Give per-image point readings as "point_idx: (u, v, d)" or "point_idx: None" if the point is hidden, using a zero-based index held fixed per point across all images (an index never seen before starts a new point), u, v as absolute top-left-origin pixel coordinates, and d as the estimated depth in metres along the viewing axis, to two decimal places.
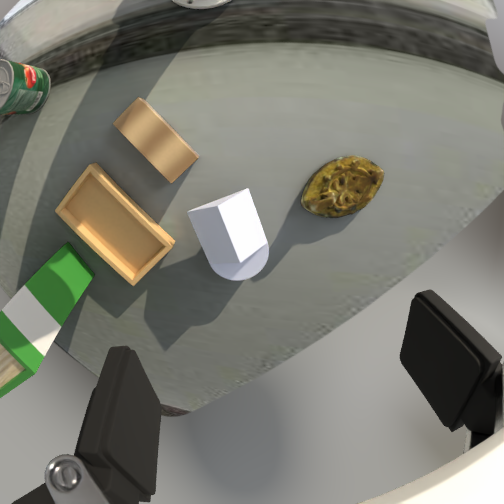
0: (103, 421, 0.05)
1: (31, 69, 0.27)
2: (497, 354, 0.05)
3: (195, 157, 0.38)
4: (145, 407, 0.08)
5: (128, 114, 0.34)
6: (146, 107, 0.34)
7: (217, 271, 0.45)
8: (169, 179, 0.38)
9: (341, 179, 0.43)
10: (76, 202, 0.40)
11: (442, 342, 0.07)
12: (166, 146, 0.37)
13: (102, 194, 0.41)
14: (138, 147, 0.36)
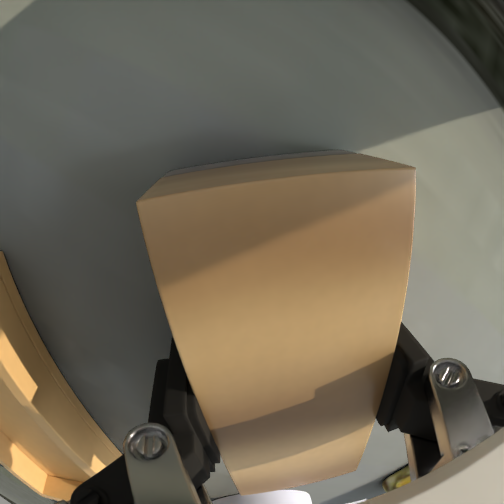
0: (185, 385, 0.07)
1: None
2: (423, 354, 0.06)
3: (352, 469, 0.09)
4: None
5: (288, 225, 0.05)
6: (401, 264, 0.06)
7: None
8: (244, 491, 0.09)
9: None
10: None
11: None
12: (316, 440, 0.08)
13: None
14: (211, 410, 0.07)
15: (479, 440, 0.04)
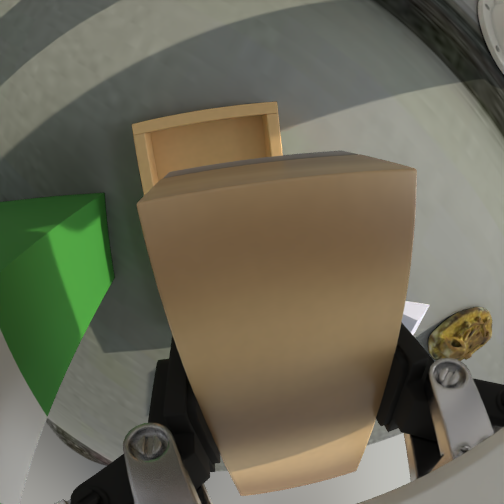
0: (185, 385, 0.07)
1: None
2: (423, 354, 0.06)
3: (353, 469, 0.09)
4: None
5: (289, 226, 0.05)
6: (402, 265, 0.06)
7: None
8: (244, 491, 0.09)
9: (472, 331, 0.31)
10: (179, 141, 0.20)
11: None
12: (316, 441, 0.08)
13: None
14: (212, 411, 0.07)
15: (479, 440, 0.04)
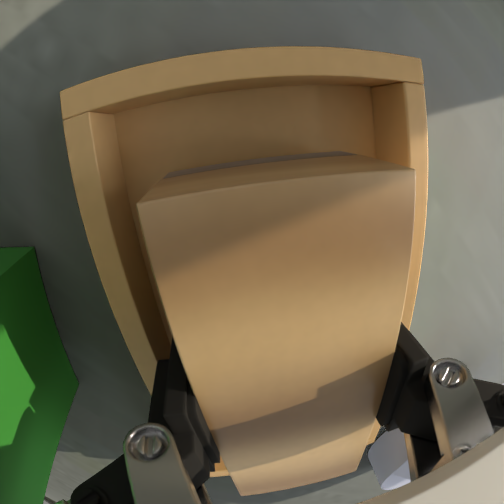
0: (185, 385, 0.07)
1: None
2: (423, 354, 0.06)
3: (352, 469, 0.09)
4: None
5: (289, 227, 0.05)
6: (401, 265, 0.06)
7: (385, 482, 0.15)
8: (244, 491, 0.09)
9: None
10: (183, 132, 0.08)
11: None
12: (316, 441, 0.08)
13: None
14: (212, 411, 0.07)
15: (479, 440, 0.04)
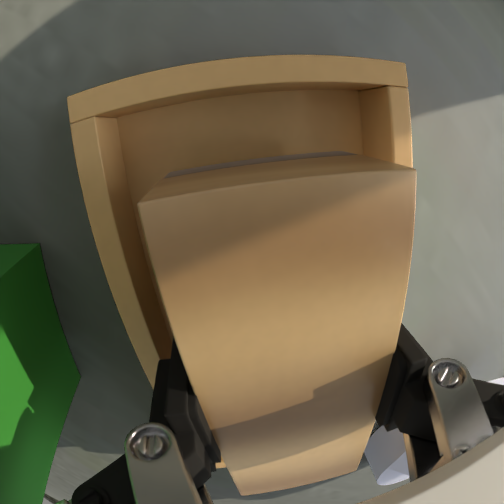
0: (186, 384, 0.07)
1: None
2: (422, 355, 0.06)
3: (353, 469, 0.10)
4: None
5: (289, 226, 0.05)
6: (402, 265, 0.06)
7: (381, 476, 0.16)
8: (244, 491, 0.09)
9: None
10: (182, 135, 0.09)
11: None
12: (317, 440, 0.08)
13: None
14: (212, 411, 0.07)
15: (478, 440, 0.04)
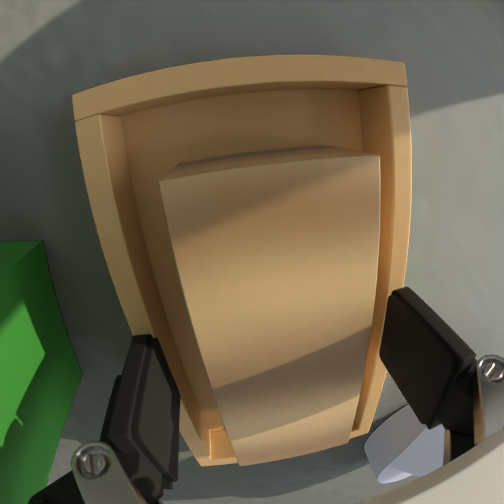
0: (132, 405, 0.06)
1: None
2: (471, 352, 0.06)
3: (344, 441, 0.11)
4: (167, 394, 0.08)
5: (275, 200, 0.06)
6: (371, 235, 0.07)
7: (381, 474, 0.16)
8: (242, 460, 0.10)
9: None
10: (184, 133, 0.09)
11: (416, 339, 0.08)
12: (308, 404, 0.09)
13: None
14: (213, 366, 0.08)
15: None
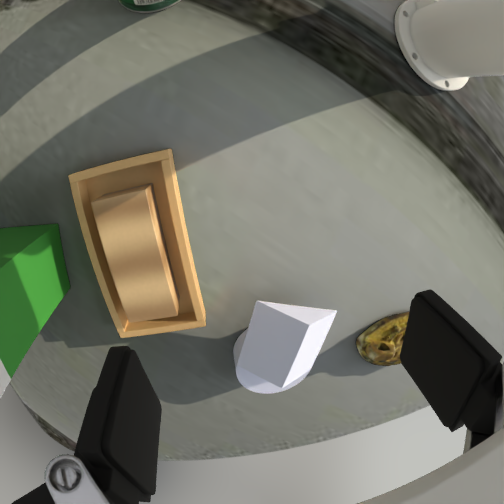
0: (103, 421, 0.05)
1: None
2: (497, 354, 0.05)
3: (174, 313, 0.27)
4: (145, 407, 0.08)
5: (118, 205, 0.23)
6: (147, 213, 0.23)
7: (239, 375, 0.32)
8: (129, 317, 0.27)
9: None
10: (105, 183, 0.25)
11: (442, 342, 0.07)
12: (145, 280, 0.26)
13: None
14: (109, 258, 0.24)
15: None
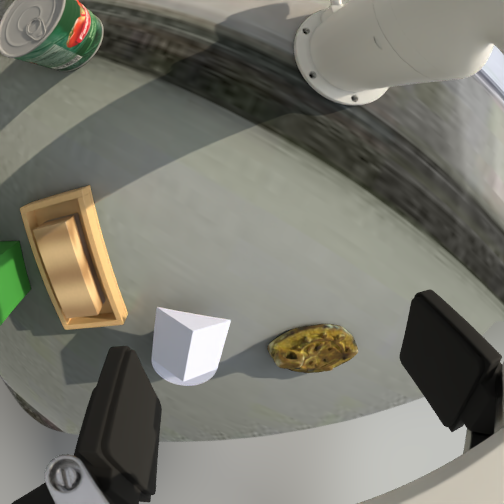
0: (103, 421, 0.05)
1: (87, 21, 0.19)
2: (497, 354, 0.05)
3: (95, 313, 0.32)
4: (145, 407, 0.08)
5: (49, 232, 0.28)
6: (68, 238, 0.28)
7: (155, 367, 0.38)
8: (65, 314, 0.32)
9: (318, 346, 0.41)
10: (47, 212, 0.30)
11: (442, 342, 0.07)
12: (72, 287, 0.31)
13: None
14: (48, 270, 0.29)
15: None
